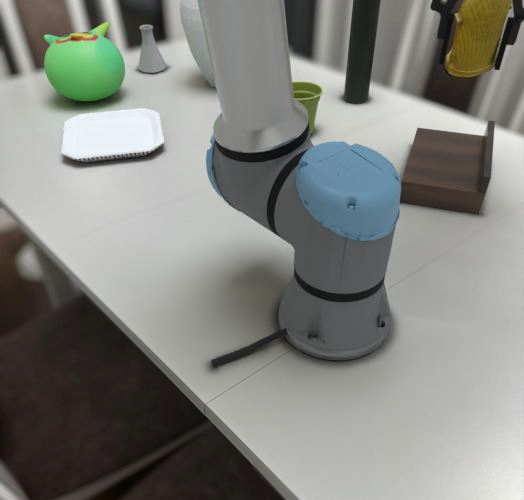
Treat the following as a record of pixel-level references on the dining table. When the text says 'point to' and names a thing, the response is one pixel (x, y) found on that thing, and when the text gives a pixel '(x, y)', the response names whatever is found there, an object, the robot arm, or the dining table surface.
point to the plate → (112, 135)
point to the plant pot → (308, 98)
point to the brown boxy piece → (448, 169)
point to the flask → (150, 52)
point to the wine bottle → (361, 50)
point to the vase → (196, 37)
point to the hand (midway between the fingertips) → (469, 64)
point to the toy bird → (84, 64)
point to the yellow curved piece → (476, 37)
